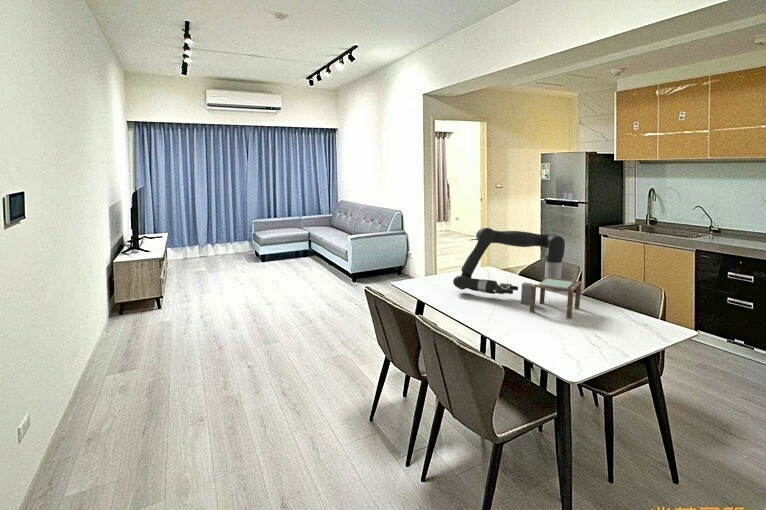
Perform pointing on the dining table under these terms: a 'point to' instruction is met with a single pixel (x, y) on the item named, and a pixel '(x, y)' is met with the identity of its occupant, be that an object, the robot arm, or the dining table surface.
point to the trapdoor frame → (570, 291)
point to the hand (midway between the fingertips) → (515, 290)
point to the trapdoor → (557, 283)
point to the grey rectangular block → (526, 293)
